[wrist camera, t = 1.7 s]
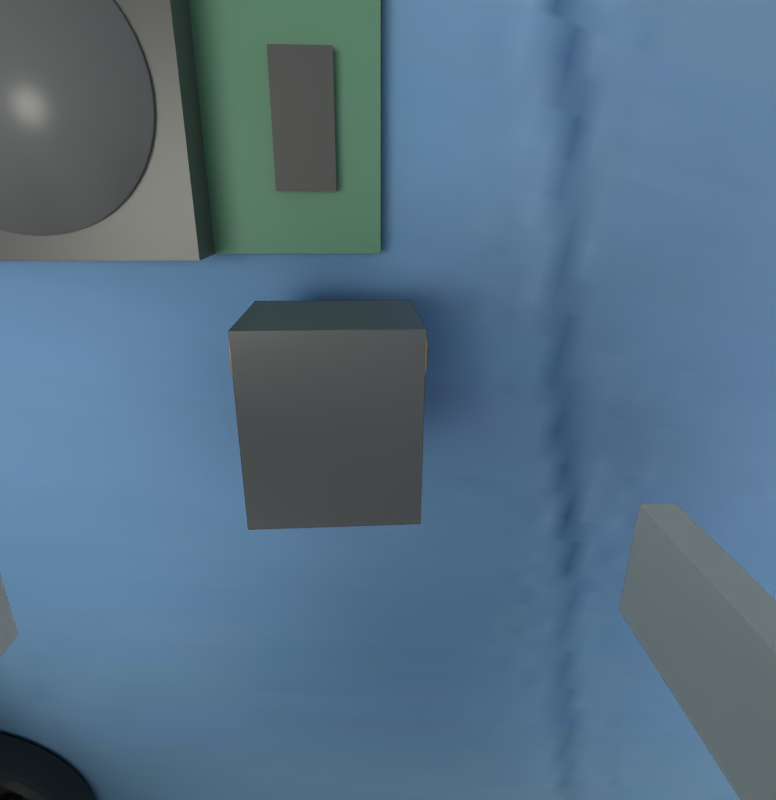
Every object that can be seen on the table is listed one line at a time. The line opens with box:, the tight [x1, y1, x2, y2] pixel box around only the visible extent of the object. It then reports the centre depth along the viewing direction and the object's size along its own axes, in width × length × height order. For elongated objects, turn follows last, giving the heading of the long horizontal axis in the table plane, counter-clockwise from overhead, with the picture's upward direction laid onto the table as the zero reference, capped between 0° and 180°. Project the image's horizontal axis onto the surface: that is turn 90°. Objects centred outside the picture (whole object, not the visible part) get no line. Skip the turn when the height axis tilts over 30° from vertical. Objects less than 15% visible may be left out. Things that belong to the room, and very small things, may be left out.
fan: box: [0, 0, 215, 261], centre depth 19 cm, size 11×11×3 cm
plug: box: [228, 300, 427, 530], centre depth 22 cm, size 7×6×9 cm
